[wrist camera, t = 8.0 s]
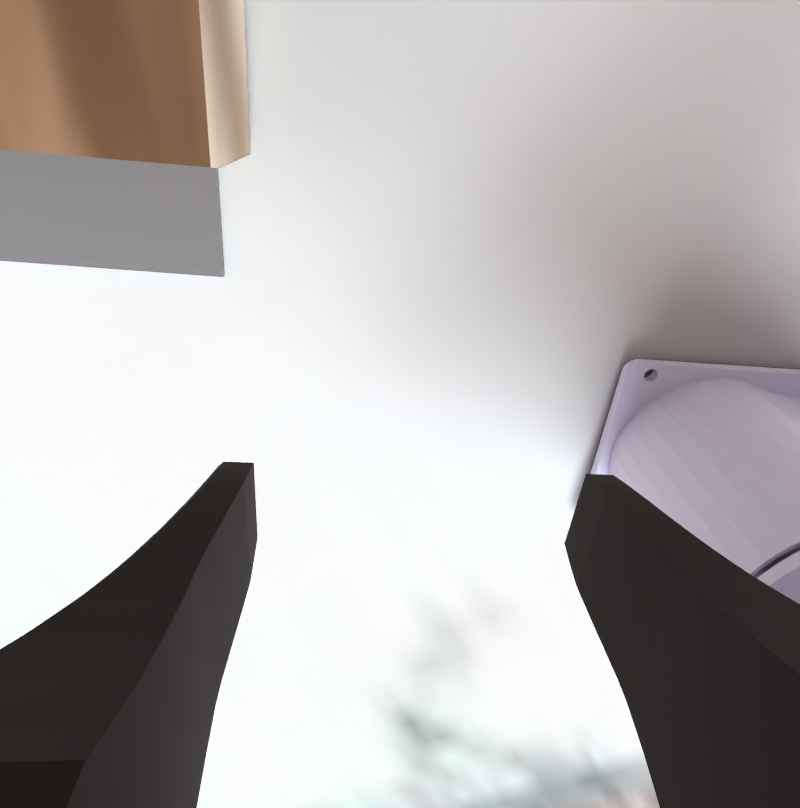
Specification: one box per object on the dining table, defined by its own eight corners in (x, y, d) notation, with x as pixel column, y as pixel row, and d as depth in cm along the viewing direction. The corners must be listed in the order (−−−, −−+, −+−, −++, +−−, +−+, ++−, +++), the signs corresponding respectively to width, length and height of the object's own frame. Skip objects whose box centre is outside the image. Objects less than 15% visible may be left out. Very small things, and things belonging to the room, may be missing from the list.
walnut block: (205, -31, 12) (-140, -70, 12) (218, 167, 14) (-78, 143, 13) (244, -2, 16) (-20, -31, 15) (250, 154, 17) (16, 133, 17)
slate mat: (193, -205, 14) (191, -208, 14) (224, 275, 19) (223, 277, 19) (-246, -265, 13) (-254, -269, 13) (-79, 253, 19) (-84, 254, 19)
